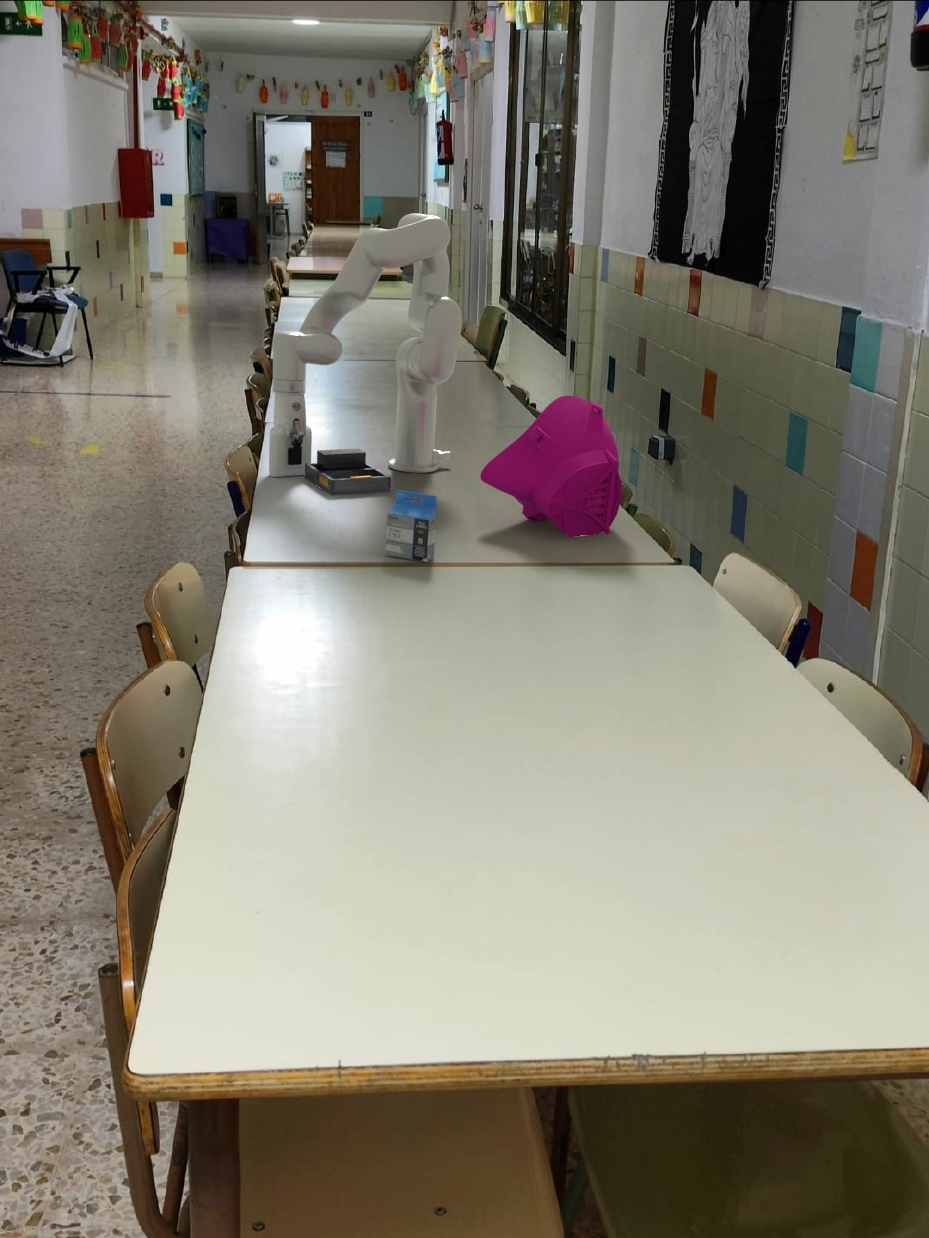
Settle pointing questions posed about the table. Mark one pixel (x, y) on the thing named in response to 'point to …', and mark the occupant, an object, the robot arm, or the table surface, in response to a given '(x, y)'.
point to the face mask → (563, 468)
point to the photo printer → (280, 453)
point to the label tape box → (411, 527)
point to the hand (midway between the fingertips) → (288, 460)
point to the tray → (346, 473)
